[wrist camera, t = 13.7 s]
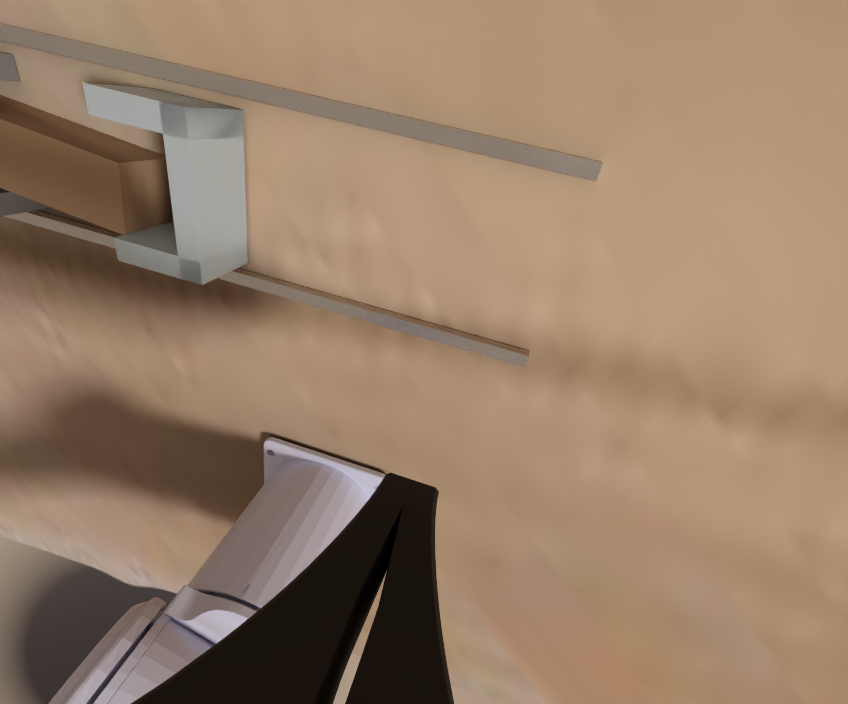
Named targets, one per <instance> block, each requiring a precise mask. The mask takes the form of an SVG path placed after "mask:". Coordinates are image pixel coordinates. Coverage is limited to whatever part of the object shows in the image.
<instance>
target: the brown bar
mask: <svg viewBox="0 0 848 704" xmlns="http://www.w3.org/2000/svg"><path fill="white" fill-rule="evenodd" d="M0 188H2V189H5V190H7V191H10V192H12V193H15V194H18V195H20V196H23V197H25V198H28V199H31V200H33V201H36V202H38V203H41V204H44V205H46V206H49V207H51V208H54V209H57V210H59V211H62V212H64V213H67V214H69V215H72V216H75V217H77V218H80V219H82V220H85V221H88V222H90V223H93V224H95V225H98V226H101V227H103V228H106V229H108V230H111V231H114V232H116V233H119V234H121V235H125V234H129V233H133V232H136V231H140V230H144V229H147V228H151V227H155V226H158V225H162V224H166V223H169V222H173V212H172V204H171V196H170V187H169V179H168V171H167V163H166V156H164V155H161V154H158V153H156V152H153V151H150V150H148V149H145V148H142V147H140V146H137V145H134V144H131V143H129V142H126V141H123V140H121V139H118V138H115V137H113V136H110V135H107V134H104V133H102V132H99V131H96V130H94V129H91V128H88V127H86V126H83V125H80V124H77V123H75V122H72V121H69V120H67V119H64V118H61V117H59V116H56V115H53V114H51V113H48V112H45V111H42V110H40V109H37V108H34V107H32V106H29V105H26V104H24V103H21V102H18V101H15V100H13V99H10V98H7V97H5V96H2V95H0Z"/></svg>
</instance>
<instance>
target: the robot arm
mask: <svg viewBox="0 0 848 704" xmlns="http://www.w3.org/2000/svg"><path fill="white" fill-rule="evenodd" d="M438 493H439V492H438V490H437V489H436V488H435V487H432V486H429V485H426V484H423V483H420V482H417V481H414V480H411V479H408V478H405V477H402V476H399V475H396V474H393V473H389V474H386V475H385V474H383V473H380V472H377V471H374V470H371V469H368V468H365V467H362V466H359V465H356V464H353V463H350V462H347V461H344V460H341V459H338V458H335V457H332V456H329V455H326V454H323V453H320V452H317V451H314V450H311V449H308V448H305V447H302V446H299V445H296V444H293V443H289V442H286V441H283V440H280V439H277V438H274V437H268V438H267V439H266V440H265V442H264V485H263V486H262V488H261V489H260V490H259V492H258V493H257V494H256V495H255V497H254V498H253V499H252V501H251V502H250V503H249V505H248V506H247V507H246V509H245V510H244V511H243V513H242V514H241V515H240V517H239V518H238V519H237V521H236V522H235V523H234V525H233V526H232V527H231V528H230V530H229V531H228V532H227V534H226V535H225V536H224V538H223V539H222V540H221V542H220V543H219V544H218V546H217V547H216V548H215V550H214V551H213V552H212V554H211V555H210V556H209V558H208V559H207V560H206V561H205V563H204V564H203V565H202V567H201V568H200V569H199V571H198V572H197V573H196V575H195V576H194V577H193V579H192V580H191V581H190V583H189V584H188V585H184V586H183V587H182V589H181V590H180V591H179V593H178V594H177V595H176V597H175V598H174V599H173V600H172V602H171V603H170V604H169V606H168V607H167V608H166V610H165V611H164V612H162V609H163V608H164V606H165V604H166V602H164V601H162V600H161V599H159V598H153V599H151V600H150V601H149V602H144V603H141V604H138V605H134V606H133V607H132V608H131V609H129V611H127V612H126V613H125V615H123V616H122V618H121V619H120V620H119V621H118V622H117V623H116V624H115V625H114V626H113V627H112V628H111V630H110V631H109V632H108V633H107V634H106V635H105V637H104V638H103V639H102V640H101V641H100V642H99V643H98V644H97V646H96V647H95V648H94V649H93V650H92V652H91V653H90V654H89V655H88V656H87V658H86V659H85V660H84V661H83V662H82V663H81V665H80V666H79V667H78V668H77V669H76V671H75V672H74V673H73V674H72V675H71V677H70V678H69V679H68V680H67V682H66V683H65V684H64V685H63V686H62V688H61V689H60V690H59V691H58V693H57V694H56V695H55V696H54V698H53V699H52V700H51V701H50V703H49V704H333V701H334V698H335V695H336V693H337V689H338V687H339V683H340V681H341V678H342V676H343V673H344V670H345V668H346V665H347V663H348V660H349V658H350V655H351V653H352V651H353V648H354V646H355V644H356V641H357V639H358V637H359V634H360V632H361V630H362V627H363V625H364V623H365V620H366V618H367V616H368V613H369V611H370V609H371V606H372V604H373V602H374V599H375V597H376V595H377V592H378V590H379V588H380V585H381V583H382V580H383V578H384V576H385V573H386V571H387V573H386V577H385V581H384V585H383V590H382V594H381V598H380V602H379V606H378V610H377V612H376V615H375V618H374V621H373V624H372V627H371V630H370V633H369V636H368V639H367V642H366V645H365V648H364V651H363V654H362V657H361V660H360V662H359V666H358V668H357V671H356V674H355V677H354V680H353V683H352V686H351V689H350V691H349V694H348V697H347V700H346V703H345V704H454V701H453V696H452V690H451V685H450V679H449V674H448V668H447V662H446V656H445V649H444V643H443V636H442V628H441V620H440V611H439V602H438V592H437V579H436V560H435V517H436V506H437V498H438Z"/></svg>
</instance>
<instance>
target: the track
mask: <svg viewBox="0 0 848 704" xmlns="http://www.w3.org/2000/svg"><path fill="white" fill-rule="evenodd" d="M0 41H4V42H8V43H12V44H17V45H21V46H25V47H29V48H33V49H38V50H42V51H46V52H50V53H55V54H59V55H63V56H67V57H72V58H76V59H80V60H84V61H89V62H93V63H97V64H101V65H106V66H110V67H114V68H118V69H122V70H127V71H131V72H135V73H139V74H144V75H148V76H152V77H156V78H161V79H165V80H169V81H173V82H178V83H182V84H186V85H190V86H195V87H199V88H203V89H207V90H211V91H216V92H220V93H224V94H228V95H233V96H237V97H241V98H245V99H250V100H254V101H258V102H262V103H267V104H271V105H275V106H279V107H284V108H288V109H292V110H296V111H300V112H305V113H309V114H313V115H317V116H322V117H326V118H330V119H334V120H339V121H343V122H347V123H351V124H356V125H360V126H364V127H368V128H373V129H377V130H381V131H385V132H389V133H394V134H398V135H402V136H406V137H411V138H415V139H419V140H423V141H428V142H432V143H436V144H440V145H445V146H449V147H453V148H457V149H461V150H466V151H470V152H474V153H478V154H483V155H487V156H491V157H495V158H500V159H504V160H508V161H512V162H517V163H521V164H525V165H529V166H534V167H538V168H542V169H546V170H550V171H555V172H559V173H563V174H567V175H572V176H576V177H580V178H584V179H589V180H593V181H596V180H597V178H598V175H599V172H600V170H601V167H602V164H603V163H602V162H600V161H596V160H591V159H587V158H583V157H578V156H574V155H570V154H565V153H561V152H557V151H552V150H548V149H544V148H539V147H535V146H531V145H526V144H522V143H518V142H513V141H509V140H505V139H500V138H496V137H492V136H487V135H483V134H479V133H474V132H470V131H466V130H461V129H457V128H452V127H448V126H444V125H439V124H435V123H431V122H426V121H422V120H418V119H413V118H409V117H405V116H400V115H396V114H392V113H387V112H383V111H379V110H374V109H370V108H366V107H361V106H357V105H353V104H348V103H344V102H340V101H335V100H331V99H327V98H322V97H318V96H314V95H309V94H305V93H301V92H296V91H292V90H288V89H283V88H279V87H275V86H270V85H266V84H262V83H257V82H253V81H249V80H244V79H240V78H236V77H231V76H227V75H223V74H218V73H214V72H210V71H205V70H201V69H197V68H192V67H188V66H184V65H179V64H175V63H171V62H166V61H162V60H158V59H153V58H149V57H145V56H140V55H136V54H132V53H127V52H123V51H119V50H114V49H110V48H106V47H101V46H97V45H93V44H88V43H84V42H80V41H75V40H71V39H67V38H62V37H58V36H54V35H49V34H45V33H41V32H36V31H32V30H28V29H23V28H19V27H15V26H10V25H6V24H2V23H0ZM4 217H7V218H11V219H14V220H18V221H21V222H25V223H28V224H32V225H35V226H39V227H42V228H45V229H49V230H52V231H56V232H59V233H63V234H66V235H70V236H73V237H77V238H80V239H83V240H87V241H90V242H94V243H97V244H101V245H104V246H108V247H111V248H115V243H114V237H118V236H122V235H121V234H117V233H114V232H110V231H107V230H103V229H100V228H96V227H92V226H89V225H85V224H82V223H78V222H75V221H71V220H68V219H64V218H61V217H57V216H54V215H50V214H47V213H43V212H40V211H36V210H35V211H29V212H24V213H18V214H12V215H7V216H4ZM115 249H116V248H115ZM218 279H222V280H225V281H229V282H232V283H235V284H239V285H242V286H246V287H249V288H253V289H256V290H260V291H263V292H266V293H270V294H273V295H277V296H280V297H284V298H287V299H291V300H294V301H298V302H301V303H304V304H308V305H311V306H315V307H318V308H322V309H325V310H329V311H332V312H336V313H339V314H342V315H346V316H349V317H353V318H356V319H360V320H363V321H367V322H370V323H374V324H377V325H380V326H384V327H387V328H391V329H394V330H398V331H401V332H405V333H408V334H412V335H415V336H418V337H422V338H425V339H429V340H432V341H436V342H439V343H443V344H446V345H450V346H453V347H456V348H460V349H463V350H467V351H470V352H474V353H477V354H481V355H484V356H488V357H491V358H494V359H498V360H501V361H505V362H508V363H512V364H515V365H519V366H522V367H525V366H526V363H527V361H528V358H529V351H528V350H524V349H521V348H517V347H514V346H510V345H507V344H503V343H500V342H496V341H493V340H489V339H486V338H482V337H479V336H475V335H472V334H468V333H465V332H461V331H458V330H454V329H450V328H447V327H443V326H440V325H436V324H433V323H429V322H426V321H422V320H419V319H415V318H412V317H408V316H405V315H401V314H398V313H394V312H391V311H387V310H384V309H380V308H377V307H373V306H370V305H366V304H363V303H359V302H356V301H352V300H349V299H345V298H342V297H338V296H335V295H331V294H328V293H324V292H321V291H317V290H314V289H310V288H307V287H303V286H300V285H296V284H293V283H289V282H286V281H282V280H279V279H275V278H271V277H268V276H264V275H261V274H257V273H254V272H250V271H247V270H243V269H240V268H237V269H235V270H233V271H230V272H228V273H226V274H224V275H222V276H220V277H218Z"/></svg>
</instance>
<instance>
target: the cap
mask: <svg viewBox="0 0 848 704" xmlns="http://www.w3.org/2000/svg"><path fill="white" fill-rule="evenodd" d="M82 84H83V89H84V94H85V99H86V104H87V109H88V114H89V115H91V116H95V117H98V118H102V119H106V120H110V121H114V122H118V123H122V124H126V125H130V126H134V127H138V128H142V129H146V130H150V131H154V132H158V133H162V134H163V138H164V147H165V155H166V163H167V171H168V179H169V187H170V196H171V204H172V212H173V220H174V222H169V223H166V224H162V225H158V226H155V227H151V228H147V229H144V230H140V231H136V232H133V233H129V234H125V235H122V236H118V237H114V243H115V248H116V253H117V258H118V261H121V262H124V263H128V264H131V265H135V266H138V267H141V268H145V269H148V270H152V271H155V272H159V273H162V274H165V275H169V276H172V277H176V278H179V279H182V280H186V281H189V282H193V283H196V284H199V285H204V284H206V283H208V282H210V281H212V280H214V279H216V278H218V277H220V276H222V275H224V274H226V273H228V272H230V271H233V270H235V269H237V268H239V267H241V266H243V265H245V264H247V263H248V254H247V223H246V192H245V161H244V130H243V110H242V109H238V108H233V107H229V106H225V105H221V104H217V103H212V102H208V101H204V100H200V99H196V98H192V97H187V96H183V95H179V94H175V93H171V92H167V91H162V90H158V89H153V88H141V87H129V86H118V85H106V84H95V83H83V82H82Z"/></svg>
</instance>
